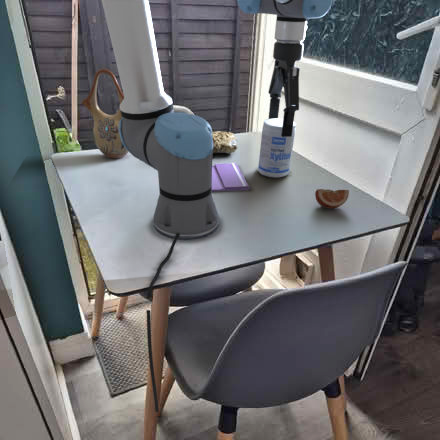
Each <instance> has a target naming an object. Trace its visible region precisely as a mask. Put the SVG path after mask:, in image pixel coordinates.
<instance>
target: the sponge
mask: <svg viewBox="0 0 440 440" xmlns="http://www.w3.org/2000/svg"><path fill="white" fill-rule="evenodd" d="M212 136H213V145H214V146H213V154H220V153H221V154H225V153H226V154H232V153H235V152H236V150H237V149H238V140H237V138H236V136H235V134H234V133H233V132H229V131H220V130H219V131H218V130H217V131H212Z"/></svg>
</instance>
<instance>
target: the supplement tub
mask: <svg viewBox="0 0 440 440" xmlns="http://www.w3.org/2000/svg"><path fill="white" fill-rule="evenodd" d="M282 126H283V118H280V117H278V118H272V119H269V118H267V119H264V121H263V125H262V129H261V139H260V146H259V147H260V148H259V155H258V156H259V157H258V166H257V170H258V172H259V173H260V174H261V175H262V176H265V177H268V178H275V179H276V178H283V177H286V176H287V175H288V174H289V173H290V169H291V162H292V155H293V150H294V144H295V143H294V142H295V137H296V130H297V129H296V126H297V123H296V122H295V121H294V122H293V130H292V137H282V136H281V135H282Z"/></svg>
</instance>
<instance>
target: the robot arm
mask: <svg viewBox="0 0 440 440" xmlns="http://www.w3.org/2000/svg"><path fill="white" fill-rule="evenodd" d="M149 1H150V0H101V3H102V8H103V13H104V16H105V20H106V25H107V30H108V33H109V37H110V43H111V46H112V51H113V54H114V60H115V63H116V68H117V71H118V72H117V73H118V75H119V80H120V84H121V90H122V93H123V94H124V99H123V101H122V103H121V104H120V103H119V108H120V111H121V116H122V118H121V120H120V122H119V135H120V139H121V141H122V143H123V145H124V147H125V148H126V149H127V150H128V151H129V152H128V153H129V154H131V155H132V156H133V157H134V158H135V159H137V160H139V161H141V162H143V163H144V164H146V165H147V166H149V167H151V168H152V169H154V170H156V171H157V176H158V177H157V178H158V186H159V187H158V191H159V194H158V199H157V202H156V206H155V210H154V213H153V228H154V230H155V231H156V232H157V234H158V235H161V236H162V237H165V238H167V239H171V240H172V242H171V245H170V246H169V247H170V248H169V249H168V253H167V255H166V256H165V258H164V259H163V260H162V261H161V262H160V263H159V265H158V267H157V269H156V272H155V275H154V277H153V278H152V280H151V281H150V283H149V286H148V289H147V295H146V297H147V299H150V298H151V297H152V292H153V289H154V286H155V284H156V282H157V280H158V279H159V277H160V274H161V271H162V269H163V267H164V265H165V264H166V263H167V262H168V261H169V260H170V258H171V256H172V254H173V251H174V249H175V247H176V243H177V241H196V240H201V239H204V238H208V237H209V236H211V235H213V234H215V232H217V230H218V229H219V226H220V223H219V222H220V218H219V213H218V209H217V207H216V203H215V201H214V200H215V199H214V197H213V192H212V166H213V157H214V155H213V154H214V153H213V146H214V145H213V136H212V132H213V130H212V126H211V124H210V123H209V122H208V121H207V120H206V119H204V118H203V117H201V116H199V115H197V114H188V113H187V112H182V111H181V112H179V111H175V110H174V103H173V98H172V97H171V96H170V95H169V94H167V93H166V92H165V91H164V86H163V80H162V79H163V78H162V73H161V68H160V67H161V66H160V61H159V55H158V50H157V43H156V37H155V32H154V26H153V19H152V14H151V7H150V2H149ZM236 1H237V5H238V7H239V10H241V11H242V12H243V13H245V14H252V15H257V14H264V15H274V16H276V19H275V27H274V40H276V41H274V42H275V43H274V44H273V51H272V52H273V53H272V58H273V59H274V66H273V70H272V75H271V78H270V83H269V86H268V87H269V88H268V95H269V98H270V99H269V109H268V119H272V118H279V112H280V105H281V98H282V94H281V93H282V91H283V93H284V94H283V95H284V104H285V107H284V108H283V110H282V111H283V118H282V119H283V126H282V135H281V136H282V137H292V130H293V122H295V115H296V112H297V111H298V112H299V110H300V86H299V85H300V70H301V69H300V67H299V66H298V67H297V66H296V62H299V61H301V60H302V59H303V56H304V55H303V54H304V46H305V44H304V40H305V38H306V31H307V30H308V29H309V28H308V25H307V24H308V20H309V19H320V18H322V17H324V16H326V14H327V13H328V12H329V11H330V9H331V7H332V4H333V2H334V0H236ZM151 316H152V315H151V309H146V335H147V336H146V337H147V352H148V361H149V363H148V364H149V370H150V371H149V372H150V378H151V386H152V392H153V400H154V401H153V402H154V412H156V413H158V412H159V402H158V393H157V384H156V376H155V370H154V358H153V348H152V347H153V346H152V322H151V321H152V319H151Z"/></svg>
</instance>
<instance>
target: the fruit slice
mask: <svg viewBox="0 0 440 440" xmlns="http://www.w3.org/2000/svg"><path fill="white" fill-rule="evenodd" d="M349 194H350V190H349V189H335V190H333V189H325V188H318V189H316V190H315V193H314V197H315V200H316V202H317V203H318V205H320V207H322V208H325V209H337V208H340V207H341V206H343V205H344V204H345V203H346V202H347V201H348V198H349Z"/></svg>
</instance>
